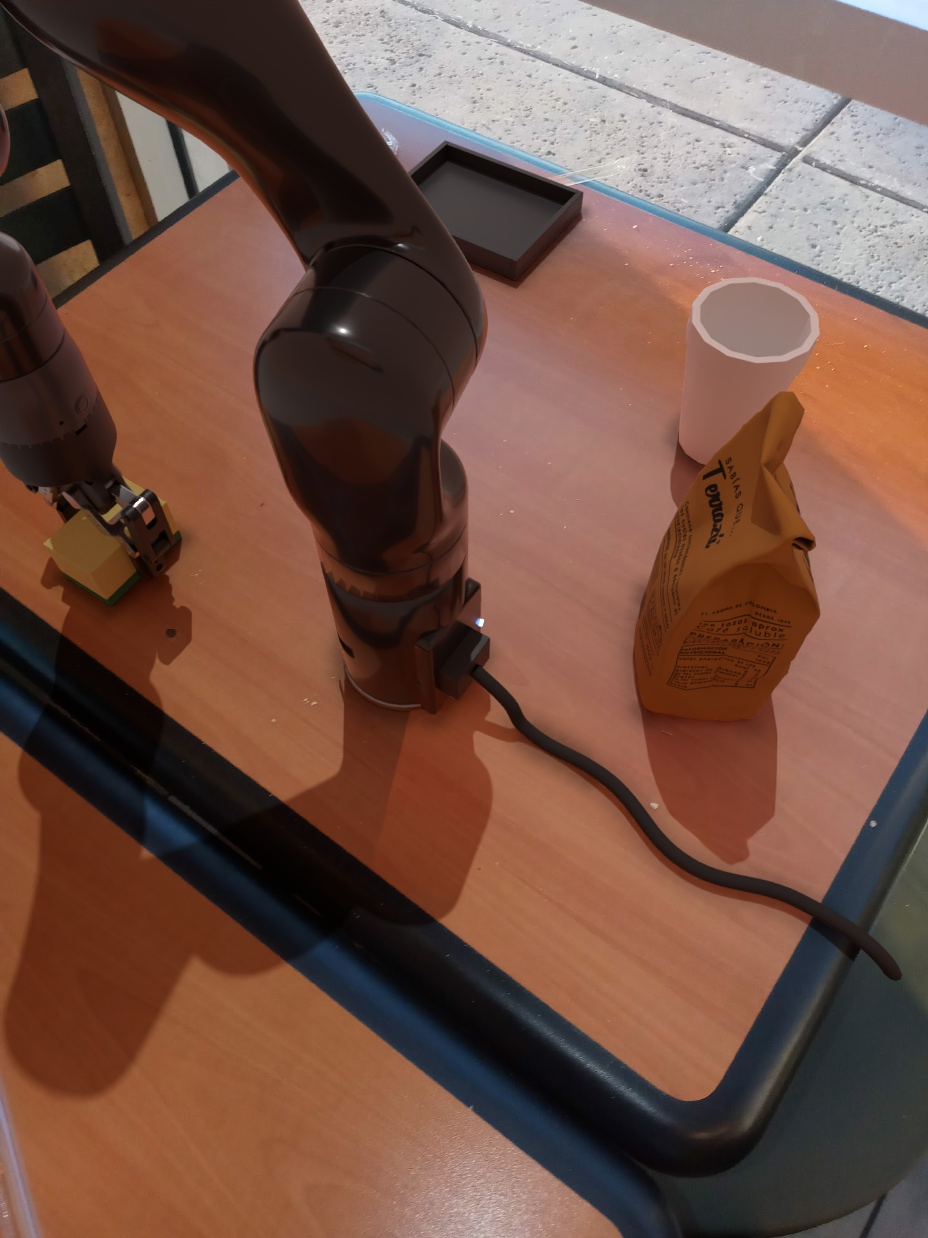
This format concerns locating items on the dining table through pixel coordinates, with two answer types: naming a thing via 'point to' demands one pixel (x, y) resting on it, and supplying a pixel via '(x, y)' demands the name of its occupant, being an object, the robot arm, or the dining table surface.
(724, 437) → the foam cup
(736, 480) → the coffee package
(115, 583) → the sponge
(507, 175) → the tray
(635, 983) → the dining table surface
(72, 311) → the dining table surface
